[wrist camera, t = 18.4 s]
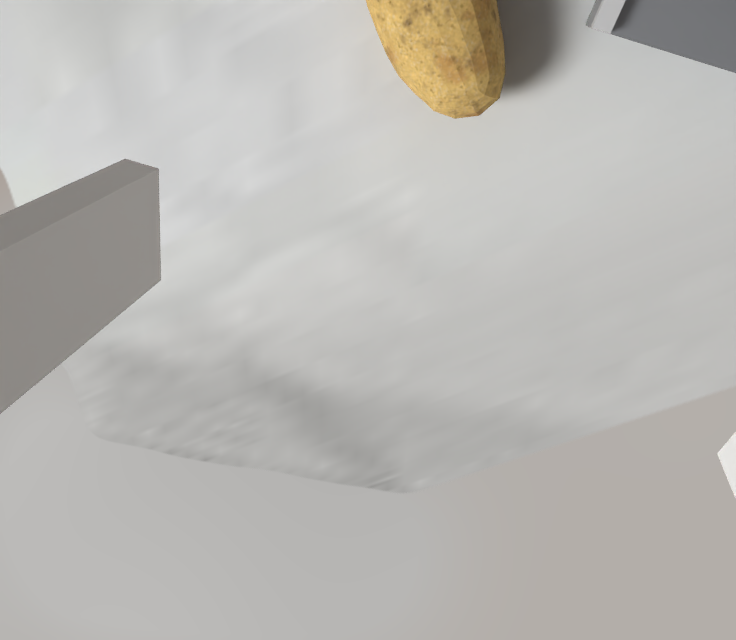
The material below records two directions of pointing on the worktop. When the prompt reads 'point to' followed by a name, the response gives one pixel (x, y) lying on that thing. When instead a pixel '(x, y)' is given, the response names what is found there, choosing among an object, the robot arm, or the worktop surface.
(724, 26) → the grey slab
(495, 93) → the potato
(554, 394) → the worktop surface
